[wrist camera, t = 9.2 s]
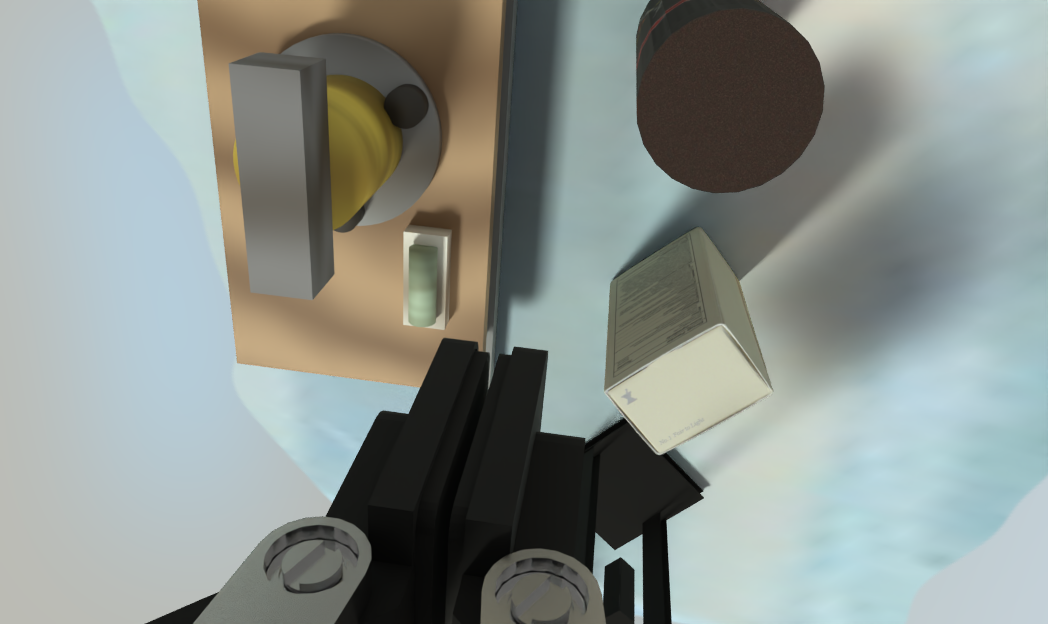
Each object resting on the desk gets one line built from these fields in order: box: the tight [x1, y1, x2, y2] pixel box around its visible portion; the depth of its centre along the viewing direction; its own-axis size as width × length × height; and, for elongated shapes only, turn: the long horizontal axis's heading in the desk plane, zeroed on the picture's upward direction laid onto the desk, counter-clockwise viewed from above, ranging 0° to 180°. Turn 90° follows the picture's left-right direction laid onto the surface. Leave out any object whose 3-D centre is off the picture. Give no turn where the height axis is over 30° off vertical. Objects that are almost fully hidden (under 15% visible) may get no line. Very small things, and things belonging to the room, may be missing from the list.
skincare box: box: [604, 227, 773, 455], centre depth 39 cm, size 6×4×12 cm
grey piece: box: [486, 0, 518, 388], centre depth 41 cm, size 26×14×5 cm, turn 176°
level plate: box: [197, 0, 506, 387], centre depth 36 cm, size 22×14×10 cm, turn 176°
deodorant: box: [636, 0, 825, 193], centre depth 32 cm, size 6×6×15 cm
